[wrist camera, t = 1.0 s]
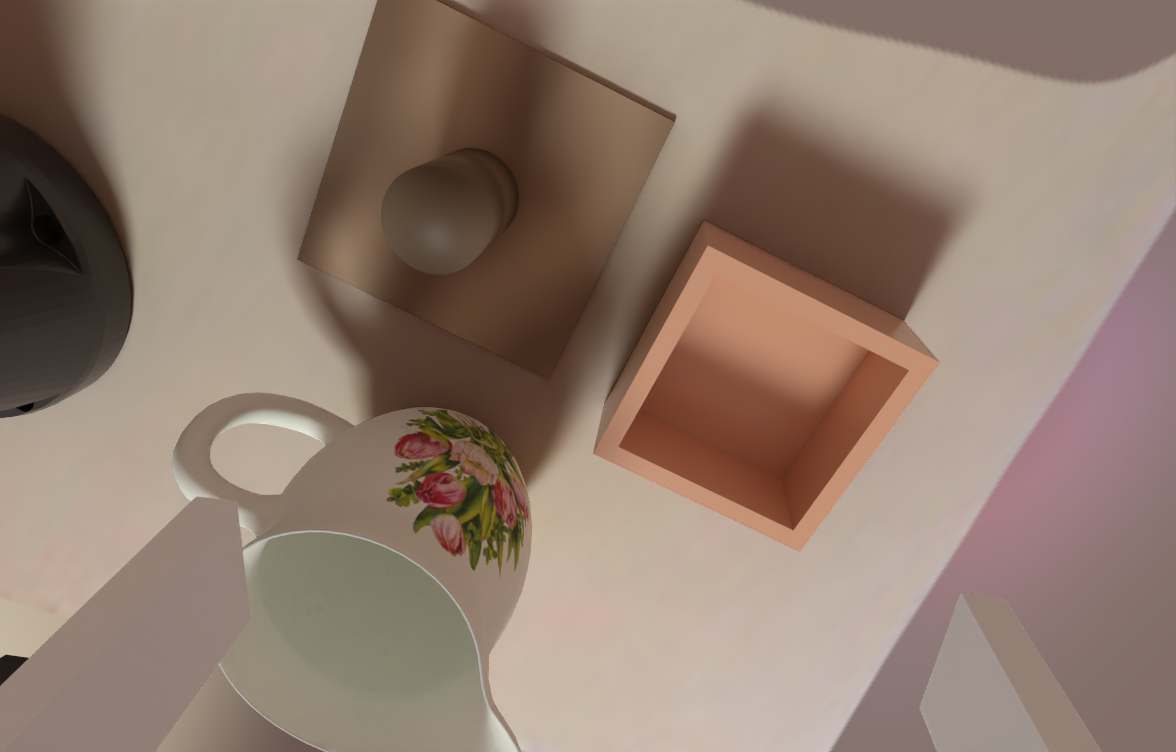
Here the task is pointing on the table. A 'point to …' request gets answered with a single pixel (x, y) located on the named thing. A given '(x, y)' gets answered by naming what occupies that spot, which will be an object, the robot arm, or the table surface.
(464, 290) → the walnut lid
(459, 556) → the pitcher
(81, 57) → the table surface
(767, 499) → the terracotta dish
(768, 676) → the table surface
